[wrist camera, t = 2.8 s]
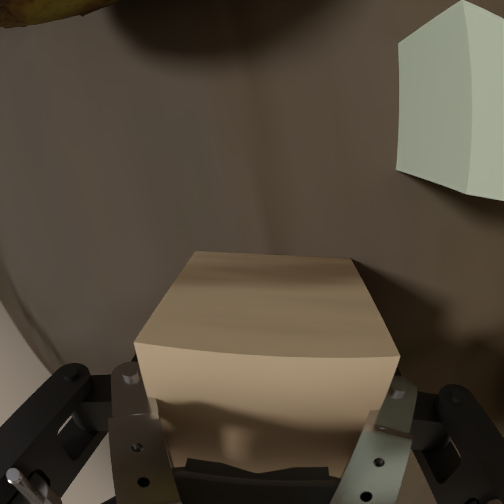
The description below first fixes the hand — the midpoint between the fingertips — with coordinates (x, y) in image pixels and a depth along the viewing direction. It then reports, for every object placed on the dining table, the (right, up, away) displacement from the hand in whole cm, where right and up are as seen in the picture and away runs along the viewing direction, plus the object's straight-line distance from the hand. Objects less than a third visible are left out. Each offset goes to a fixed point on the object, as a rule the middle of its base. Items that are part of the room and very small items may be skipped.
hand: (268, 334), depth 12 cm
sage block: (+7, +9, -3) cm, 12 cm away
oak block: (0, 0, +1) cm, 1 cm away
